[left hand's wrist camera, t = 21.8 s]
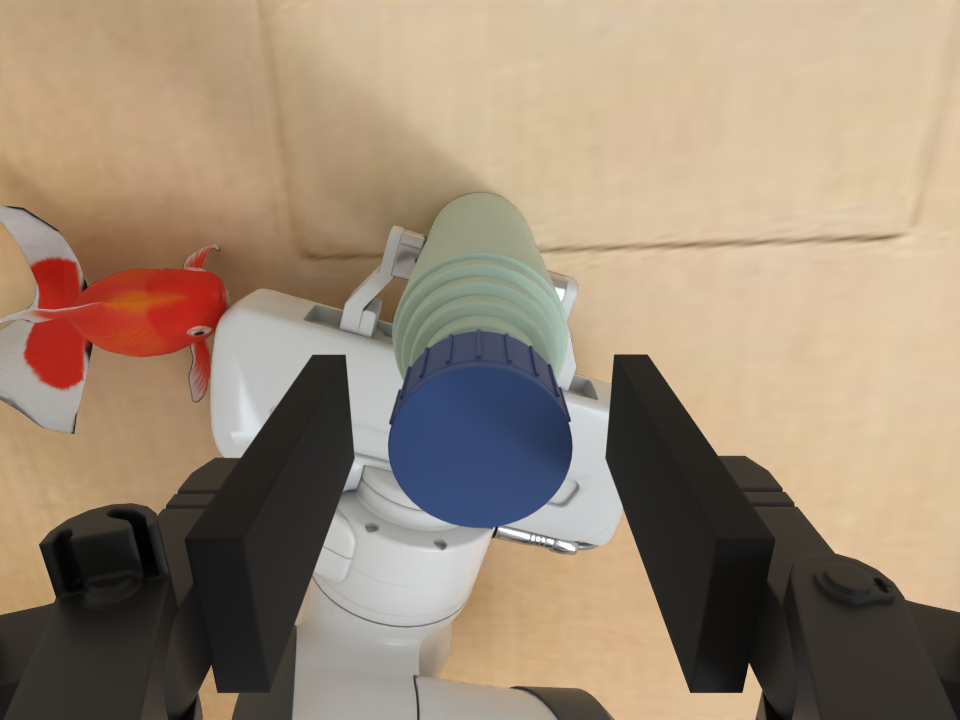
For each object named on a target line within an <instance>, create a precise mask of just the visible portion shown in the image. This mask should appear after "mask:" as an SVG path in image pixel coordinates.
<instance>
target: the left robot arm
mask: <svg viewBox="0 0 960 720" xmlns="http://www.w3.org/2000/svg"><path fill="white" fill-rule="evenodd" d="M354 459H355V455H354V444H353V432H352V421H351V409H350V398H349V386H348V375H347V363H346V355H312V356H311V358H310V359H309V360H308V362H307V363H306V365H305V366H304V368H303V369H302V370H301V372H300V373H299V375H298V376H297V378H296V379H295V381H294V382H293V383H292V385H291V386H290V388H289V389H288V391H287V392H286V393H285V395H284V396H283V398H282V399H281V401H280V402H279V404H278V405H277V406H276V408H275V409H274V411H273V412H272V414H271V415H270V416H269V418H268V419H267V421H266V422H265V424H264V425H263V427H262V428H261V429H260V431H259V432H258V434H257V435H256V437H255V438H254V439H253V441H252V442H251V444H250V445H249V447H248V448H247V450H246V451H245V452H244V454H243V455H242V457H241V458H214V459H213V460H211V461H210V462H208V463H207V464H205V465H204V466H202V467H200V468H199V469H197V470H196V471H194V472H193V473H192V474H191V475H190V476H189V477H188V479H187V480H186V481H185V482H184V484H183V485H182V486H181V487H180V489H179V490H178V494H175V495H174V496H173V497H172V499H171V500H170V501H169V502H168V504H167V505H166V509H163V510H162V511H161V512H160V514H159V515H158V516H157V514H156V513H155V512H154V511H152V510H151V509H150V508H149V507H147V506H142V505H137V504H132V503H130V504H114V505H108V506H104V507H100V508H96V509H92V510H89V511H86V512H84V513H82V514H79V515H77V516H75V517H73V518H70V519H68V520H66V521H65V522H63V523H62V524H61V525H59V526H58V527H56V528H55V529H53V530H52V531H50V532H49V533H48V535H47V536H46V537H45V538H44V539H43V541H42V542H41V543H40V544H39V546H40V549H41V552H42V555H43V558H44V561H45V564H46V568H47V571H48V574H49V577H50V580H51V583H52V586H53V589H54V592H55V595H56V599H55V602H54V603H52V604H48V605H45V606H40V607H36V608H31V609H27V610H22V611H17V612H13V613H8V614H4V615H0V720H202V719H203V715H202V709H201V702H200V698H199V694H198V691H199V689H200V687H201V685H202V683H203V681H204V679H205V677H206V675H207V673H208V671H209V669H210V666H211V665H212V669H213V674H214V678H215V683H216V688H217V692H218V693H270V690H271V688H272V685H273V682H274V679H275V677H276V674H277V671H278V668H279V666H280V663H281V660H282V657H283V655H284V652H285V649H286V646H287V644H288V641H289V638H290V635H291V633H292V630H293V627H294V624H295V622H296V619H297V616H298V613H299V611H300V608H301V605H302V602H303V600H304V597H305V594H306V591H307V589H308V586H309V583H310V580H311V578H312V575H313V572H314V569H315V567H316V564H317V561H318V558H319V556H320V553H321V550H322V547H323V545H324V542H325V539H326V536H327V534H328V531H329V528H330V525H331V523H332V520H333V517H334V514H335V512H336V509H337V506H338V503H339V501H340V498H341V495H342V492H343V490H344V487H345V484H346V481H347V479H348V476H349V473H350V470H351V468H352V465H353V462H354ZM605 459H606V462H607V465H608V468H609V470H610V473H611V476H612V479H613V481H614V484H615V487H616V490H617V492H618V495H619V498H620V501H621V503H622V506H623V509H624V512H625V514H626V517H627V520H628V523H629V525H630V528H631V531H632V534H633V536H634V539H635V542H636V545H637V547H638V550H639V553H640V556H641V558H642V561H643V564H644V567H645V569H646V572H647V575H648V578H649V580H650V583H651V586H652V589H653V591H654V594H655V597H656V600H657V602H658V605H659V608H660V611H661V613H662V616H663V619H664V622H665V624H666V627H667V630H668V633H669V635H670V638H671V641H672V644H673V646H674V649H675V652H676V655H677V657H678V660H679V663H680V666H681V668H682V671H683V674H684V677H685V679H686V682H687V685H688V688H689V690H690V693H742V692H743V688H744V683H745V678H746V674H747V669H748V665H749V663H750V665H751V667H752V669H753V672H754V674H755V676H756V678H757V680H758V682H759V684H760V686H761V688H762V694H761V698H760V702H759V707H758V711H757V715H756V720H960V612H955V611H951V610H946V609H941V608H937V607H932V606H927V605H923V604H918V603H914V602H911V601H907V600H905V598H904V596H903V595H902V593H901V592H900V591H899V589H898V588H897V586H896V585H895V584H894V582H892V581H891V580H890V579H888V578H887V577H886V576H885V575H883V574H882V573H881V572H879V571H878V570H877V569H875V568H873V567H871V566H869V565H867V564H865V563H863V562H861V561H858V560H856V559H853V558H849V557H846V556H842V555H839V554H835V553H834V552H833V550H832V549H831V548H830V547H829V545H828V544H827V543H826V542H825V540H824V539H823V538H822V537H821V536H820V534H819V533H818V532H817V531H816V529H815V528H814V527H813V526H812V524H811V523H810V522H809V521H808V519H807V518H806V517H805V516H804V514H803V513H802V512H801V511H800V509H799V508H798V507H795V506H794V502H793V501H792V500H791V498H790V497H789V496H788V495H787V493H786V492H783V490H782V489H783V488H782V487H781V486H780V485H779V483H778V482H777V481H776V480H775V479H774V477H773V476H772V475H771V474H770V472H769V471H768V470H766V469H765V468H763V467H761V466H760V465H758V464H757V463H755V462H754V461H752V460H751V459H749V458H748V457H746V456H718V455H717V454H716V452H715V451H714V450H713V448H712V447H711V445H710V444H709V442H708V441H707V439H706V438H705V437H704V435H703V434H702V432H701V431H700V429H699V428H698V427H697V425H696V424H695V422H694V421H693V419H692V418H691V416H690V415H689V414H688V412H687V411H686V409H685V408H684V406H683V405H682V404H681V402H680V401H679V399H678V398H677V396H676V395H675V393H674V392H673V391H672V389H671V388H670V386H669V385H668V383H667V382H666V381H665V379H664V378H663V376H662V375H661V373H660V372H659V370H658V369H657V368H656V366H655V365H654V363H653V362H652V360H651V359H650V358H649V356H648V355H614V363H613V375H612V386H611V398H610V409H609V421H608V432H607V444H606V455H605Z"/></svg>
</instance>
